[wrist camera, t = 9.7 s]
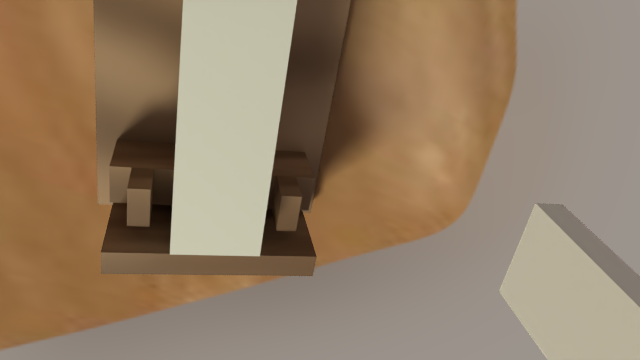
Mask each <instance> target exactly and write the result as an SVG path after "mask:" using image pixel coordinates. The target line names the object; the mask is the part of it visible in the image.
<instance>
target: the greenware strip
mask: <svg viewBox="0 0 640 360" xmlns="http://www.w3.org/2000/svg"><path fill="white" fill-rule="evenodd" d="M296 5H297V0H183V11H182V30H181V49H180V68H179V87H178V106H177V125H176V144H175V163H174V182H173V201H172V220H171V239H170V255H219V256H260V252H261V245H262V238H263V231H264V224H265V217H266V211H267V204H268V197H269V190H270V183H271V176H272V170H273V163H274V156H275V149H276V142H277V135H278V128H279V122H280V115H281V108H282V101H283V94H284V87H285V81H286V74H287V67H288V60H289V53H290V46H291V40H292V33H293V26H294V19H295V12H296Z"/></svg>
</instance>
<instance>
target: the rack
mask: <svg viewBox="0 0 640 360" xmlns="http://www.w3.org/2000/svg"><path fill="white" fill-rule="evenodd" d="M350 3H351V0H297V5H296V12H295V19H294V26H293V33H292V40H291V46H290V53H289V60H288V67H287V74H286V81H285V87H284V94H283V101H282V108H281V115H280V122H279V128H278V135H277V142H276V149H275V156H274V163H273V170H272V176H271V183H270V190H269V197H268V204H267V211H266V217H265V224H264V231H263V238H262V245H261V252H260V256H219V255H170V239H171V220H172V201H173V182H174V163H175V144H176V125H177V106H178V87H179V68H180V49H181V30H182V11H183V0H94V47H95V93H96V139H97V186H98V204H107V205H112V209H111V213H110V217H109V221H108V225H107V230H106V234H105V238H104V242H103V246H102V250H101V274H181V275H271V276H312V275H313V271H314V266H315V262H316V254H315V250H314V247H313V244H312V241H311V237H310V234H309V231H308V228H307V224H306V221H305V218H304V215H303V212H304V213H311V208H312V203H313V198H314V192H315V187H316V182H317V177H318V171H319V166H320V161H321V156H322V150H323V145H324V140H325V134H326V129H327V124H328V119H329V113H330V108H331V103H332V98H333V92H334V87H335V82H336V76H337V71H338V66H339V61H340V55H341V50H342V45H343V40H344V34H345V29H346V24H347V18H348V13H349V8H350Z"/></svg>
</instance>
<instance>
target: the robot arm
mask: <svg viewBox="0 0 640 360" xmlns="http://www.w3.org/2000/svg"><path fill="white" fill-rule="evenodd" d="M499 292H500V293H501V295H502V296H503V298H504V299H505V300H506V302H507V303H508V305H509V306H510V307H511V309H512V310H513V312H514V313H515V314H516V316H517V317H518V319H519V320H520V322H521V323H522V324H523V326H524V327H525V329H526V330H527V331H528V333H529V334H530V336H531V337H532V338H533V340H534V341H535V343H536V344H537V346H538V347H539V348H540V350H541V351H542V353H543V354H544V355H545V357H546V358H547V360H640V276H639V275H638V274H636V273H635V272H634V271H633V270H632V269H631V268H630V267H629V266H628V265H627V264H626V263H625V262H624V261H623V260H622V259H620V258H619V257H618V256H617V255H616V254H615V253H614V252H613V251H612V250H611V249H610V248H609V247H608V246H606V245H605V244H604V243H603V242H602V241H601V240H600V239H599V238H598V237H597V236H596V235H595V234H594V233H593V232H592V231H590V230H589V229H588V228H587V227H586V226H585V225H584V224H583V223H582V222H581V221H580V220H579V219H578V218H576V217H575V216H574V215H573V214H572V213H571V212H570V211H569V210H568V209H567V208H566V207H565V206H564V205H560V204H539V203H536V204H535V206H534V208H533V211H532V213H531V216H530V218H529V221H528V223H527V226H526V228H525V230H524V233H523V235H522V237H521V240H520V242H519V245H518V247H517V250H516V252H515V254H514V257H513V260H512V262H511V264H510V267H509V269H508V272H507V274H506V276H505V279H504V281H503V283H502V286H501V288H500V291H499Z"/></svg>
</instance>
